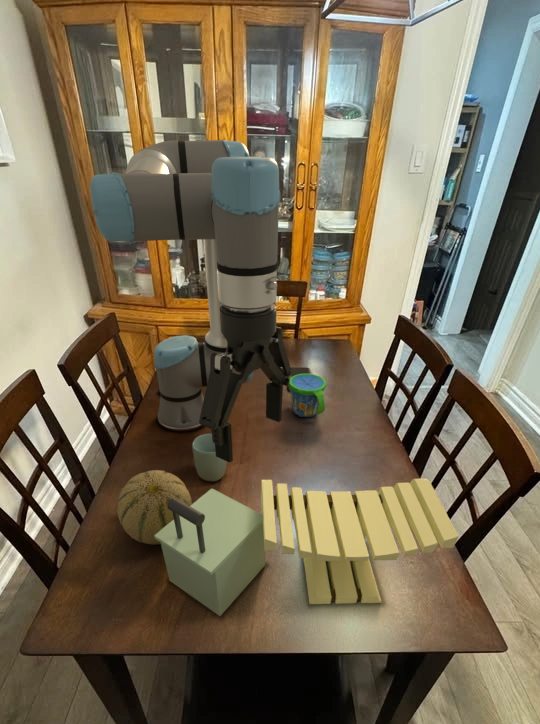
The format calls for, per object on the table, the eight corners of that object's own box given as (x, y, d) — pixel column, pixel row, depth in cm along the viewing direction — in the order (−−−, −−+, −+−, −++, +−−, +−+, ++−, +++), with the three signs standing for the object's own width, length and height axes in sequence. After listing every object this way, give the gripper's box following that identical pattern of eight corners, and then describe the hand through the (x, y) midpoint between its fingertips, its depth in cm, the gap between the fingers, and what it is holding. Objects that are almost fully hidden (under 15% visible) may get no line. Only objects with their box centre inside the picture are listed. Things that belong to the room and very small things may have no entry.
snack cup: (333, 421, 121) (337, 390, 115) (301, 428, 118) (303, 397, 112) (308, 396, 132) (311, 367, 126) (278, 403, 129) (279, 373, 123)
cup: (223, 488, 98) (220, 455, 92) (191, 483, 100) (187, 450, 93) (231, 467, 104) (229, 435, 98) (202, 463, 106) (198, 431, 99)
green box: (220, 616, 72) (215, 571, 64) (169, 580, 78) (158, 535, 70) (265, 565, 81) (265, 519, 73) (216, 536, 87) (212, 491, 79)
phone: (288, 387, 134) (287, 367, 146) (288, 391, 135) (287, 370, 147) (312, 388, 134) (309, 367, 146) (312, 391, 135) (309, 370, 146)
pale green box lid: (211, 575, 64) (206, 535, 58) (154, 538, 70) (145, 498, 64) (265, 519, 73) (266, 480, 67) (212, 491, 79) (208, 452, 73)
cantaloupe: (153, 499, 95) (142, 446, 86) (208, 519, 91) (202, 466, 81) (109, 544, 85) (90, 490, 76) (168, 569, 80) (156, 515, 71)
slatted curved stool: (401, 534, 88) (423, 470, 76) (427, 601, 75) (458, 536, 64) (260, 536, 86) (261, 471, 75) (262, 605, 74) (264, 538, 63)
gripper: (207, 340, 44) (219, 488, 58) (319, 286, 60) (308, 411, 74) (157, 326, 48) (180, 468, 61) (276, 278, 64) (273, 399, 77)
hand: (250, 437), depth 67 cm, fingers open, 13 cm apart
